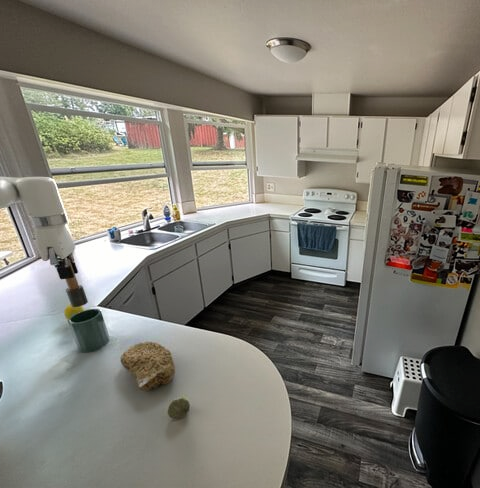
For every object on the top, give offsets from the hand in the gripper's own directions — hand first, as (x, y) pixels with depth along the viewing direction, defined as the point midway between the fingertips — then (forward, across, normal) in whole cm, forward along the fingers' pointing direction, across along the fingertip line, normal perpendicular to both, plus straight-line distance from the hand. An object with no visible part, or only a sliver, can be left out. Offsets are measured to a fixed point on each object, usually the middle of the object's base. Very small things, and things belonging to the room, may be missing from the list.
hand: (69, 275), depth 80 cm
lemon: (+28, -20, -10) cm, 36 cm away
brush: (+11, 0, 0) cm, 11 cm away
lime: (+28, +41, +28) cm, 57 cm away
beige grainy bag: (+28, +21, +19) cm, 40 cm away
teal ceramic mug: (+28, -1, 0) cm, 28 cm away
